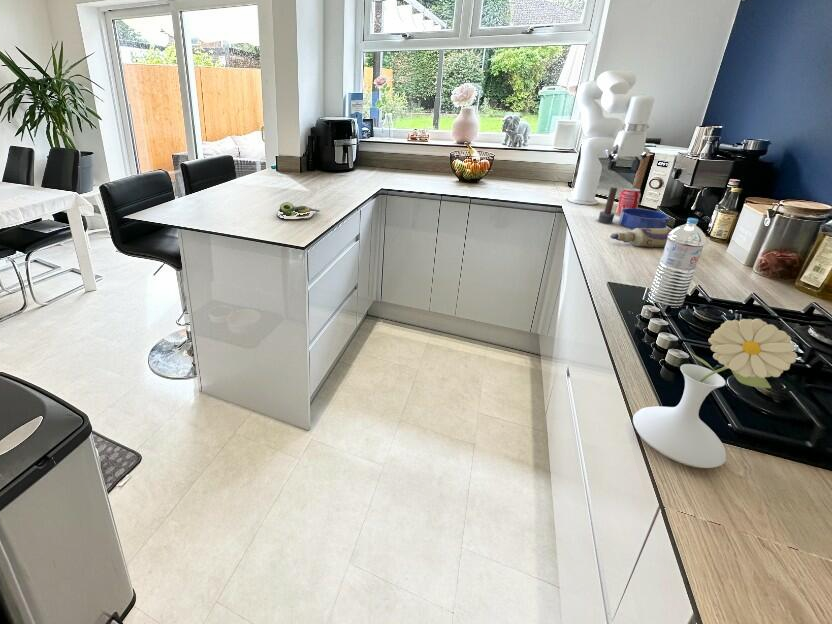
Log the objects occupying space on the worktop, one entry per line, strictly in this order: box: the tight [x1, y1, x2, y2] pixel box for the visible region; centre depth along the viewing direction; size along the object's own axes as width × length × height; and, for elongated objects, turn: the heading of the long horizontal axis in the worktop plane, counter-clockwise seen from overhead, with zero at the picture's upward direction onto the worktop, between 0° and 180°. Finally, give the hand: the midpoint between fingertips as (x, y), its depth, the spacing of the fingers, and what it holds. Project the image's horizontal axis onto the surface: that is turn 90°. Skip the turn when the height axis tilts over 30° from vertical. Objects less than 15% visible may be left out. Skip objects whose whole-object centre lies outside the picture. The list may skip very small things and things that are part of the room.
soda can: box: [615, 187, 642, 217], centre depth 176 cm, size 7×7×12 cm
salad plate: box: [276, 201, 321, 220], centre depth 182 cm, size 19×18×5 cm
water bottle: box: [646, 217, 707, 308], centre depth 98 cm, size 7×7×25 cm
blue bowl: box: [618, 207, 670, 230], centre depth 164 cm, size 15×15×6 cm
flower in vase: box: [632, 318, 798, 469], centre depth 59 cm, size 13×11×25 cm
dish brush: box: [597, 186, 618, 225], centre depth 167 cm, size 5×5×15 cm
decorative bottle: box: [609, 228, 674, 248], centre depth 143 cm, size 26×8×7 cm, turn 81°
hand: (622, 170), depth 166 cm, fingers open, 9 cm apart
